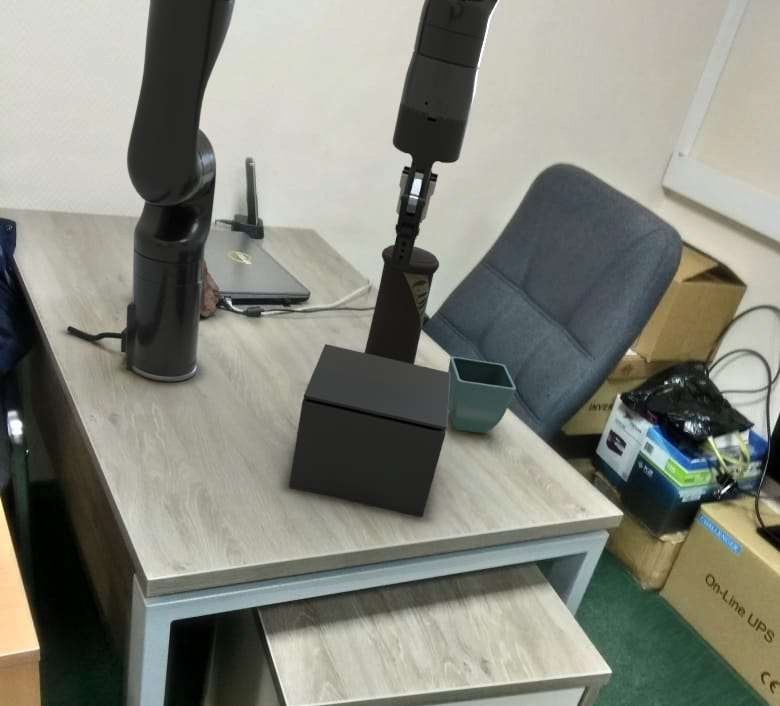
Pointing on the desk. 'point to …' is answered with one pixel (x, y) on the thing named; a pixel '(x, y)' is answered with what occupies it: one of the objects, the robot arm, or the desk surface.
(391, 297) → the container
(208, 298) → the mineral specimen
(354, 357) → the flap
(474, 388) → the flower pot
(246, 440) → the desk surface
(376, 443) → the carton
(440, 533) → the desk surface
